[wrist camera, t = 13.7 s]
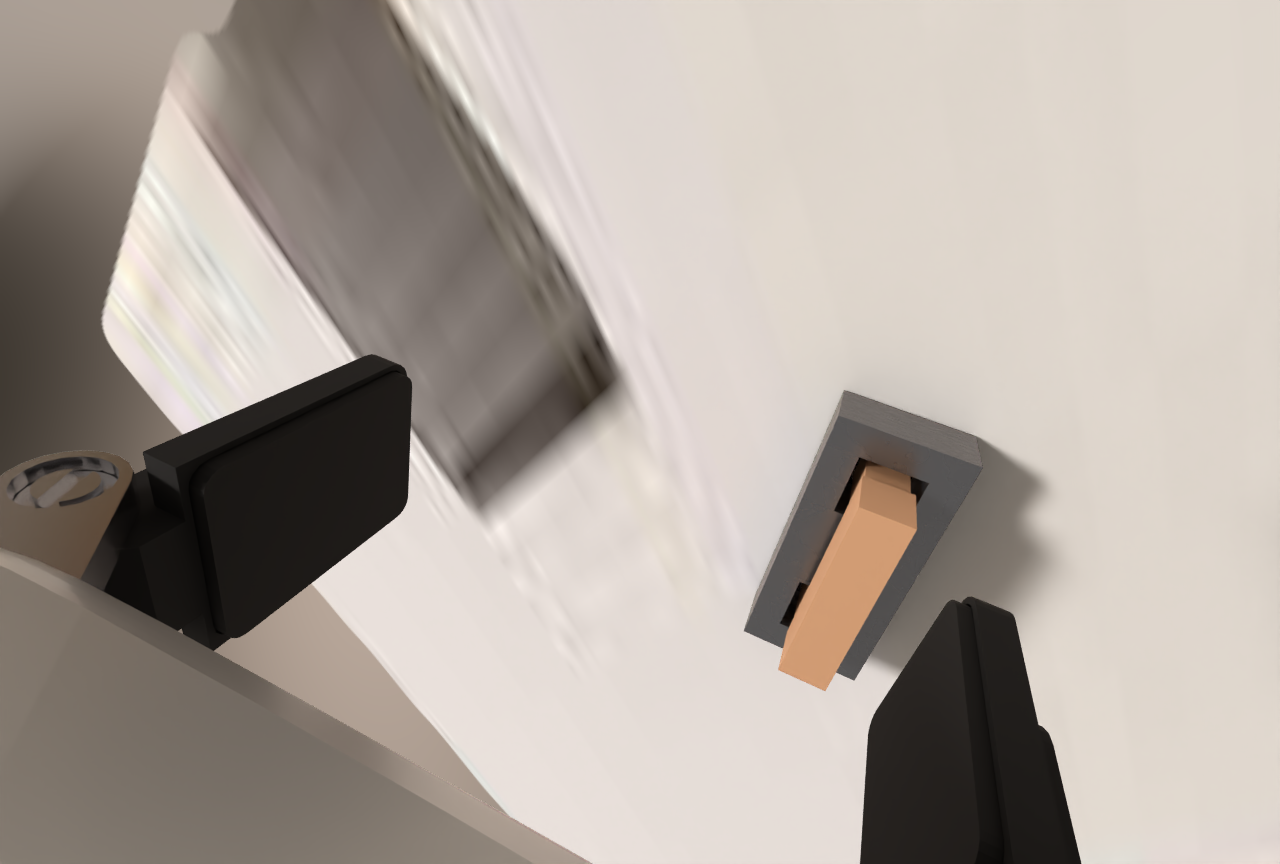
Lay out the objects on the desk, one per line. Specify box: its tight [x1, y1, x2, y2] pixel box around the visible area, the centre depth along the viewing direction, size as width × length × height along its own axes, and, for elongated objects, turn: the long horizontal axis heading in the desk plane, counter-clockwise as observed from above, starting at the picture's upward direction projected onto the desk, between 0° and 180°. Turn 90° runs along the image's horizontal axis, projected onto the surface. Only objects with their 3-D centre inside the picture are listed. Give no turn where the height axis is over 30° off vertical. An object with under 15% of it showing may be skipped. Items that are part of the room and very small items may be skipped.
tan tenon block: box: [778, 458, 917, 691], centre depth 39 cm, size 3×13×8 cm, turn 166°
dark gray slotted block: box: [744, 390, 983, 680], centre depth 41 cm, size 8×18×4 cm, turn 166°
